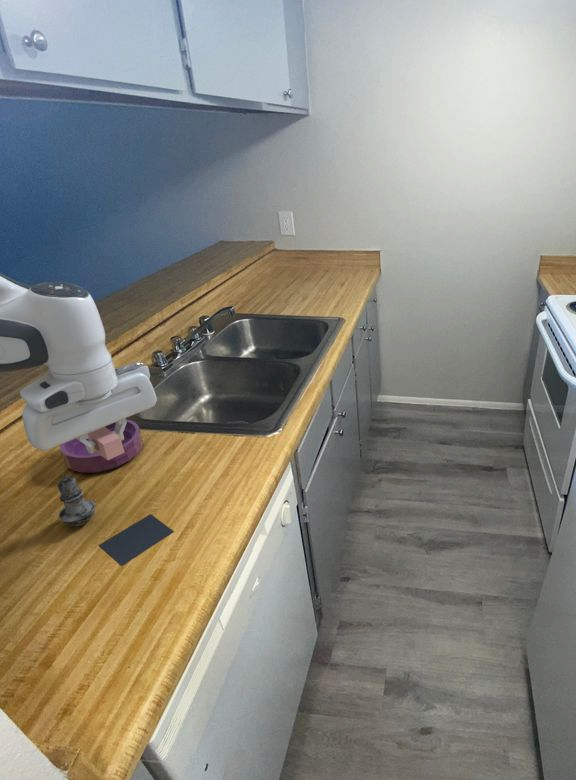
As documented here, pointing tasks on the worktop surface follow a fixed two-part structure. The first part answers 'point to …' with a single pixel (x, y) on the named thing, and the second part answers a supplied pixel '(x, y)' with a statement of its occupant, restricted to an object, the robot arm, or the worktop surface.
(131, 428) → the bowl
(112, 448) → the eraser
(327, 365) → the worktop surface
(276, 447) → the worktop surface
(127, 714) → the worktop surface
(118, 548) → the mat
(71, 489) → the grey stone finial
